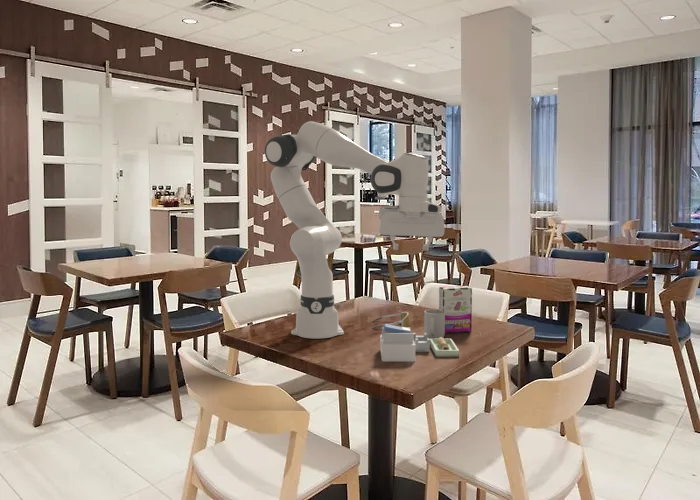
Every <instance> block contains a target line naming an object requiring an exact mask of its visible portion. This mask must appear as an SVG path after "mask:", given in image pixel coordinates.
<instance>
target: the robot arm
mask: <svg viewBox="0 0 700 500" xmlns="http://www.w3.org/2000/svg"><path fill="white" fill-rule="evenodd" d="M264 157H265V158H266V159H265V160H267V162H268V163H269V164H270V165H272V166H274V168H273V169H272V170H271V173H270V181H271V184H272V187H273V190H274V193H275V196H276V197H277V199H278V201H279V203H280V205H281V207H282V209H283V211H284V213H285V215H286V217H287V218H288V220H289V221H290V222H291V223H293V224H294V225H295V226H296V227H297V228H298V229H297V230H296V231H294V232H293V233H292V235H291V237H290V239H289V247H290V251H291V252H292V253H293V254H294V255H295V256H296V258H297V262H298V266H299V270H300V276H301V277H300V278H301V279H300V280H301V294H300V299H299V301H300V307H299V308H298V309H297V311H296V312H295V313H296V314H295V315H296V317H295V320H296V321H295V328H294V329H292V330H291V331H290V334H291V335H293V336H299V337H301V338H304V339H313V340H314V339H316V340H317V339H328V338H334V337H335V336H341V335H345V333H344V330H343V328H342V326H340V324H339V323H340V321H339V311H338V310H337V309H336V308H335V295H334V294H333V293H334V291H333V290H334V289H333V288H334V286H333V284H334V282H333V281H334V280H333V279H334V277H333V276H334V275H333V272H332V269H330V267H329V264H328V260H327V255H330V254H332V253H334V252H335V251H337V250H338V249H339V248H340V247H341V246H342V245H341V244H342V242H343V241H342V240H343V238H342V237H343V235H342V233H341V231H340V230H339V228H337V227H336V226H334V224H332V222H331V221H330V220H329V219H328V218H327V217H326V216H325V214H324V213H323V212H322V210H321V209H320V208H319V206H318V204H317V203H316V202H315V200H314V198H313V196H312V194H311V192H310V190H309V188H308V186H307V184H306V183H305V181H304V179H303V176H302V171H307V170H308V169H309V167H310V166H311V164H313V163H314V161H315V160H316V159H318V160H320V161H323V162H324V163H325V164H330V165H331V166H335V167H342V168H351V169H352V168H353V169H357V170H361V171H363V172H366V173H368V174H370V184H371V187H372V189H373V190H374V191H375V192H377V193H378V194H380V195H381V194H383V195H397V196H398V205H387V204H386V205H383V206H382V207H380V208H379V210H378V217H379V219H380V220H379V229H378V232H379V234H380V235H382V236H389V239H390V241H391V243H392V245H393V247H392V248H393V249H392V250H393V251H398V250H399V243H396V242H395V239H396V236H402V237H403V236H405V237H407V236H408V237H426V239H427V240H428V241H427V242H426V244H422V245H423V246H422V247H423V248H422V251H423V252H429V250H430V249H429V247H430V245H431V244H432V242H433V238H434V237H435V238H436V237H437V238H438V237H440V238H441V237H443V236H444V235H445V219H444V216H443V215H442V214H441V213H442V211H443V210H442V206H441V205H438V204H437V203H434V202H431V201H428V192H427V187H428V184H429V166H428V164H429V162H428V160H427V158H426V157H425V156H424V155H422V154H416V153H410V152H405V153H402V154H401V155H400V156H399V157H397V158H395V159H393V160H391V161H387V160H385V159H383V158H381V157H379V156H377V155H375V154H373V153H372V152H370V151H368V150H366V149H364V148H363V147H362V146H360V145H359V144H357V143H356V142H354V141H353V140H351V139H350V138H348V137H347V136H346V135H344V134H342V133H341V132H340V131H338V130H336V129H335V128H333V127H330V126H329V125H326V124H323V123H320V122H316V121H313V120H311V121H310V120H309V121H307V122H306V121H305V122H304V123H303V124H302V125H301V127H300V128H299V130H298V132H297V134H280V135H276V136H273V137H271V138H269V139H268V141H267V142H266V143H265V146H264Z"/></svg>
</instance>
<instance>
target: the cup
mask: <svg viewBox="0 0 700 500" xmlns="http://www.w3.org/2000/svg"><path fill="white" fill-rule="evenodd" d="M423 315H424V316H423V318H424V319H423V320H424V321H423V323H424V324H423V325H424V326H423V334H424V333H427V338H429V339H430V338H440V337H442V338H444V337H445V334H446V333H445V311H442V310H439V309H426V310H424V314H423Z"/></svg>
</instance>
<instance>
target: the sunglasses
mask: <svg viewBox="0 0 700 500" xmlns="http://www.w3.org/2000/svg"><path fill="white" fill-rule="evenodd" d="M409 314H410V313H409V312H407V311H402V312H399V313H394V314H388V315H383V316H379V317H377V318H375V319H372V320H371V321H370V322H371V323H373V322H376V321H379V320H380V319H386V318H391V317H399V320H398V321H395V322H390V323H388V324H389V325H400V324H401V326H400V327H410V326H409V325H410V321H411V320H410V315H409ZM385 324H386V323H384V324H378V325H375V326H372V327H371V329H372V330H373V329H378V328H382V327H384V325H385Z"/></svg>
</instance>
